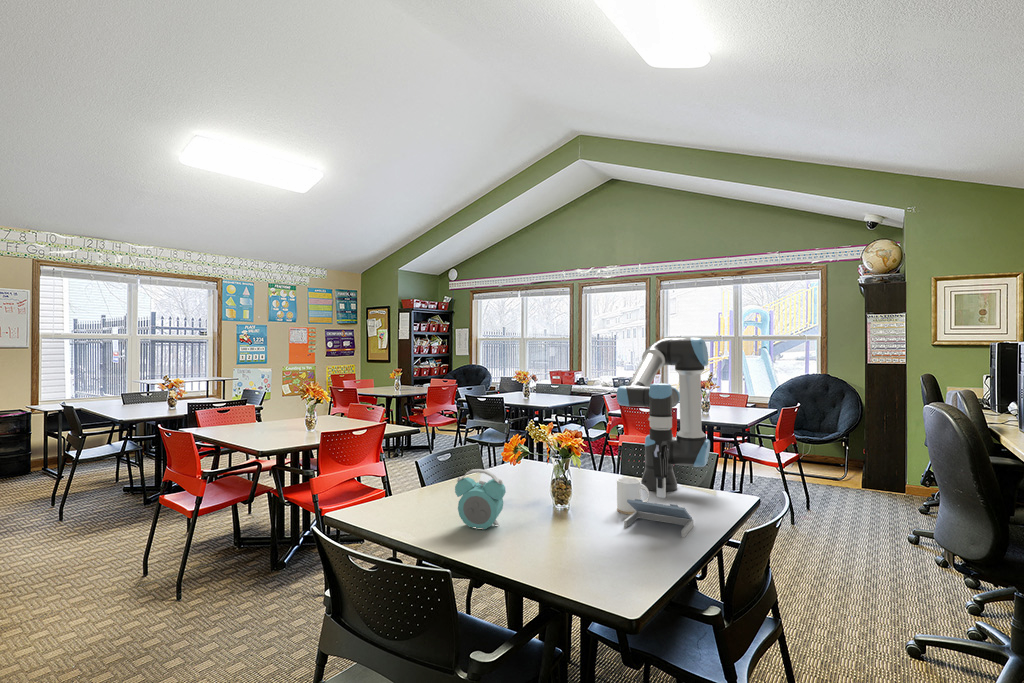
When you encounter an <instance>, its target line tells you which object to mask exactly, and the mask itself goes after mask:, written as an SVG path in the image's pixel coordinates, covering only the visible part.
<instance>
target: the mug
mask: <svg viewBox="0 0 1024 683" xmlns="http://www.w3.org/2000/svg"><path fill="white" fill-rule="evenodd" d="M641 490H645V491H646V493H647V498H646V499H645V500H642V499H641V496H642V495H641ZM649 498H650V490H648V489H647V487H646V486H644V485H643V484H641V480H640V479H638V478H632V477H621V478H617V479H616V509H617V508H618V509H619V510H620V511H623V512H635V511H636V510H635V509H634V508H633V507H632V506H631V505H630V504H629V503H628V502H627V499H628V500H635V499H638V500H642V501H643V502H649Z"/></svg>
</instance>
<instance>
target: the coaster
mask: <svg viewBox="0 0 1024 683" xmlns="http://www.w3.org/2000/svg"><path fill="white" fill-rule="evenodd" d="M616 510H617V512H618V513H621V514H624V515H629V516H630V515H632V514H633V513H634V512H623V511H620V510H619V509H618V508H617V507H616Z"/></svg>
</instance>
